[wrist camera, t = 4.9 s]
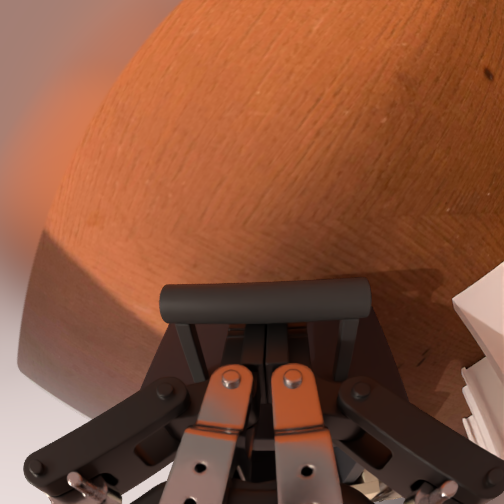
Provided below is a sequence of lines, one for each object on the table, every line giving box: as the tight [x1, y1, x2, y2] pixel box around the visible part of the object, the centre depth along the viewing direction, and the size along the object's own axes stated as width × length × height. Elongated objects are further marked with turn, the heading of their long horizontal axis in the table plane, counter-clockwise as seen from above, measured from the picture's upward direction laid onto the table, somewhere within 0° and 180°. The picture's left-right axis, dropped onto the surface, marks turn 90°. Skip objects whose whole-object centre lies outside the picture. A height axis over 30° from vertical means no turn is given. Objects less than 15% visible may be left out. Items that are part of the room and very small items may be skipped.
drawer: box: [140, 277, 409, 486], centre depth 14 cm, size 18×12×8 cm, turn 5°
